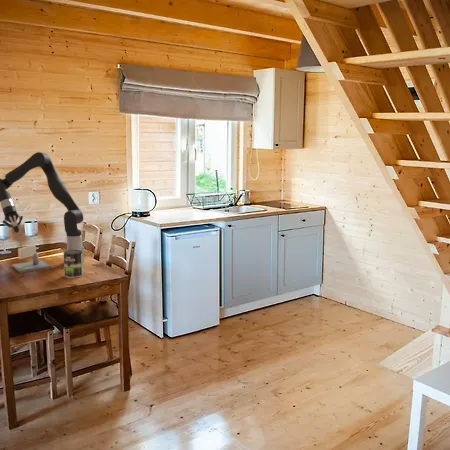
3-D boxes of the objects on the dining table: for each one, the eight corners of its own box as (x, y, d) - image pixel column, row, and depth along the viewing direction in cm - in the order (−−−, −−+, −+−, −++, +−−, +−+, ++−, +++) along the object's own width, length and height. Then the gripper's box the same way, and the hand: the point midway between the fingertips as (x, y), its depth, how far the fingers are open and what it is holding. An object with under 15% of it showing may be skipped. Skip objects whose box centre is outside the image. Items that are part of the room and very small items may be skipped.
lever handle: (35, 262, 316) (34, 244, 314) (39, 263, 314) (38, 244, 312) (18, 267, 304) (16, 248, 302) (22, 268, 302) (20, 249, 300)
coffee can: (77, 278, 287) (76, 254, 285) (61, 277, 290) (59, 253, 287) (86, 273, 297) (85, 250, 295) (70, 272, 300) (69, 249, 297)
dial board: (42, 262, 324) (42, 260, 323) (50, 268, 309) (50, 265, 309) (12, 266, 313) (12, 264, 313) (19, 272, 299) (19, 270, 299)
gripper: (18, 207, 331) (27, 231, 328) (-3, 212, 324) (5, 237, 321) (19, 202, 324) (28, 227, 321) (-3, 207, 317) (6, 233, 315)
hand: (17, 232), depth 321 cm, fingers closed
